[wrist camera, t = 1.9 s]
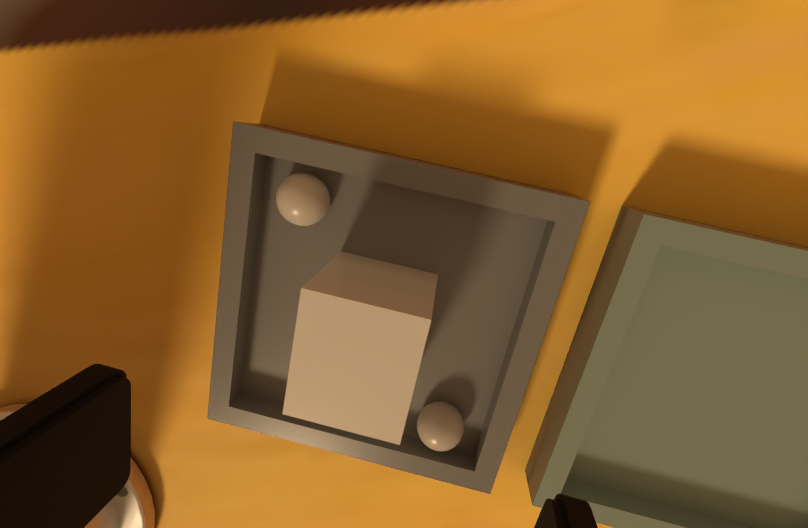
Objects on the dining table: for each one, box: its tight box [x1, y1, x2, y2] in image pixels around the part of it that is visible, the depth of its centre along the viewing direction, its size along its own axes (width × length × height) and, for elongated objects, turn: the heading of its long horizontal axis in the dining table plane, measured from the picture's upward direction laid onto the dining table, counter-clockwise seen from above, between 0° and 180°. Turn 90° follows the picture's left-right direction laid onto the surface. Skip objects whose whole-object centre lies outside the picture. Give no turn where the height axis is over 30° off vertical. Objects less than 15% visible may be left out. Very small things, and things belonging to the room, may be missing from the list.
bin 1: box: [207, 122, 590, 494], centre depth 19 cm, size 14×14×3 cm
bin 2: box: [525, 206, 808, 528], centre depth 18 cm, size 14×14×2 cm
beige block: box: [282, 251, 438, 445], centre depth 17 cm, size 5×4×5 cm
